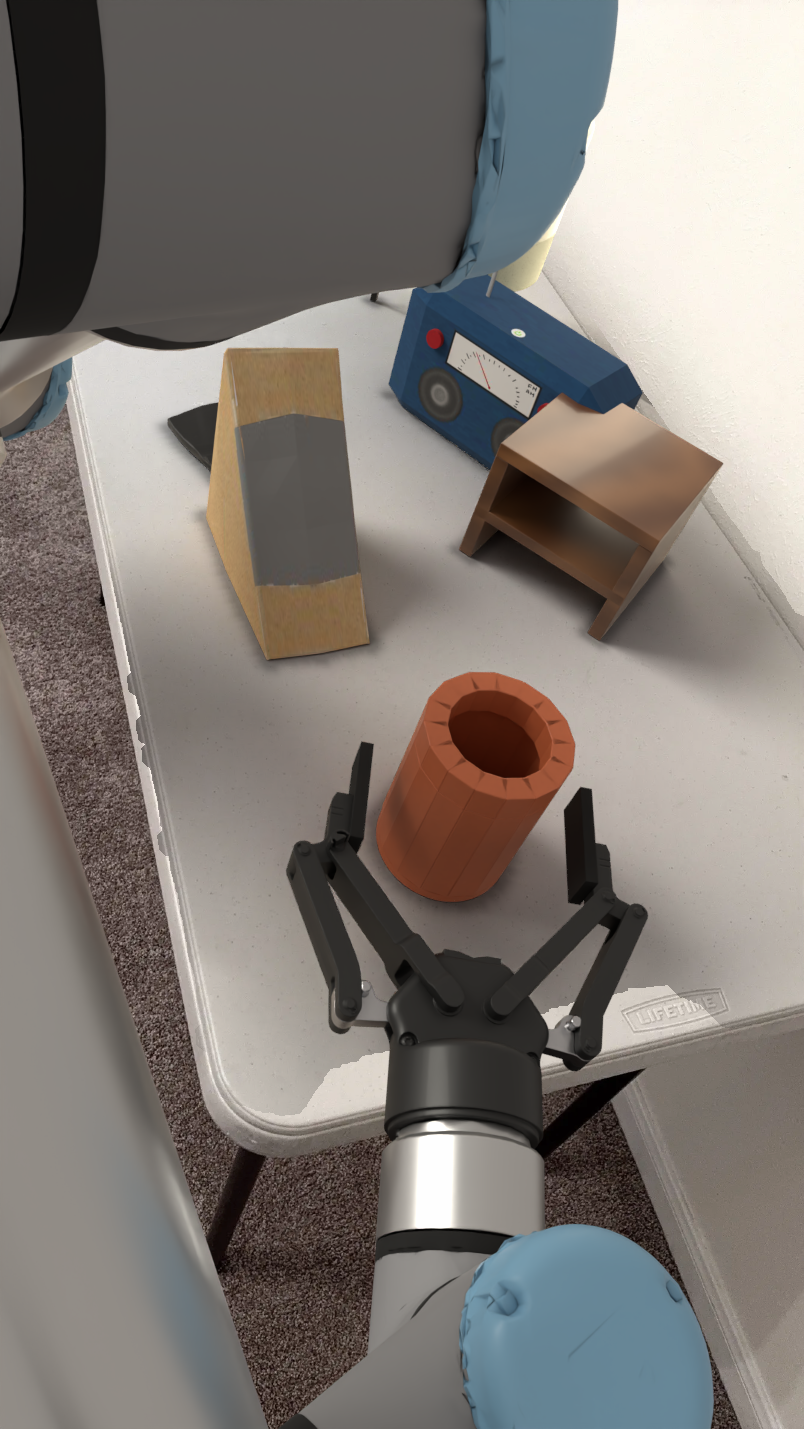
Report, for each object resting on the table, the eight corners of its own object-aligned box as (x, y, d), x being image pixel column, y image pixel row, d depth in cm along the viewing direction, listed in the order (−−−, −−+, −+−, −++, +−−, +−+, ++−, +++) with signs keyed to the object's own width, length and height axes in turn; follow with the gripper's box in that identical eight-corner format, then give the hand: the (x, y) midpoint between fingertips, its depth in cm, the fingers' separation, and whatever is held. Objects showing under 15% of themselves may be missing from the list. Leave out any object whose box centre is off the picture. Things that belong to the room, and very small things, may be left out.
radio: (375, 400, 93) (429, 185, 78) (431, 373, 98) (492, 166, 83) (549, 524, 87) (643, 318, 72) (599, 488, 93) (696, 289, 77)
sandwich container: (263, 662, 69) (298, 499, 58) (201, 515, 77) (221, 345, 66) (373, 645, 73) (426, 488, 62) (303, 506, 81) (339, 343, 69)
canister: (349, 845, 62) (394, 733, 53) (422, 762, 68) (474, 647, 58) (463, 929, 60) (530, 828, 51) (528, 836, 66) (599, 731, 57)
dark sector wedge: (347, 448, 87) (350, 433, 86) (215, 487, 79) (218, 471, 78) (293, 393, 90) (296, 378, 89) (161, 425, 82) (163, 409, 81)
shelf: (458, 549, 82) (500, 442, 74) (534, 479, 91) (579, 377, 83) (599, 641, 80) (659, 541, 71) (663, 560, 88) (724, 462, 80)
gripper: (189, 1130, 47) (259, 772, 60) (672, 1199, 51) (637, 847, 64) (204, 1080, 41) (278, 696, 55) (747, 1162, 45) (691, 784, 58)
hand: (471, 777), depth 59 cm, fingers open, 13 cm apart
